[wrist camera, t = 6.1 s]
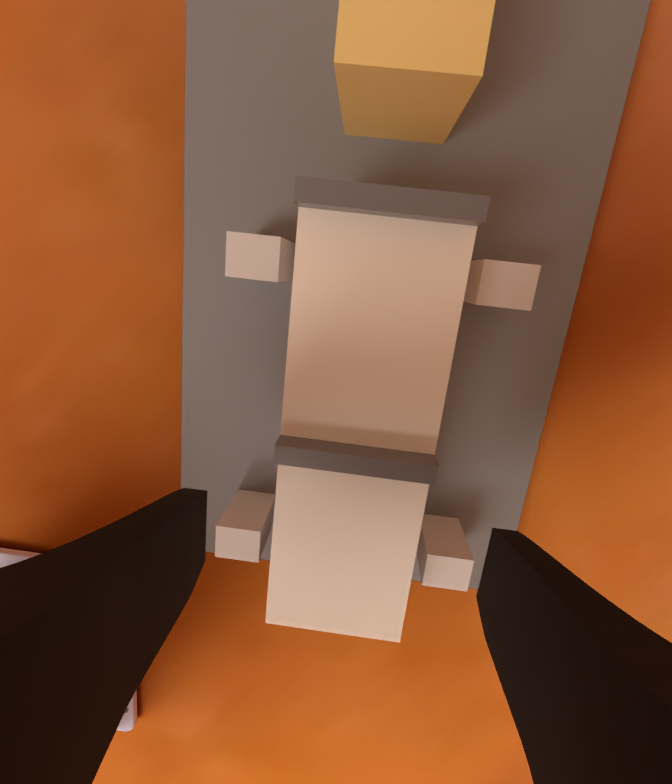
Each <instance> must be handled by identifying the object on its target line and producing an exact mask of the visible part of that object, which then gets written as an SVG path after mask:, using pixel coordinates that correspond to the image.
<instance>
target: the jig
mask: <svg viewBox="0 0 672 784" xmlns="http://www.w3.org/2000/svg"><path fill="white" fill-rule="evenodd" d="M650 2H651V0H496V1H495V7H494V13H493V19H492V24H491V30H490V36H489V42H488V48H487V54H486V59H485V65H484V71H483V76H482V78H481V80H480V82H479V83H478V85H477V87H476V88H475V90H474V92H473V94H472V95H471V97H470V99H469V100H468V102H467V104H466V106H465V107H464V109H463V111H462V112H461V114H460V116H459V118H458V119H457V121H456V123H455V124H454V126H453V128H452V130H451V131H450V133H449V135H448V137H447V138H446V140H445V142H444V143H443V144H433V143H423V142H413V141H403V140H393V139H383V138H373V137H363V136H353V135H345V133H344V127H343V120H342V114H341V107H340V101H339V94H338V88H337V81H336V75H335V68H334V53H335V42H336V31H337V20H338V9H339V0H186V51H185V145H184V238H183V332H182V426H181V489H182V488H190V489H198V490H206V491H207V519H206V551H205V552H211V553H215V557H220V558H227V559H235V560H242V561H249V562H256V563H259V560H260V559H262V560H269V561H270V556H271V544H272V531H273V519H274V507H275V494H276V482H277V469H278V464H273V460H274V447H275V444H276V442H277V440H278V438H279V436H280V432H281V419H282V407H283V394H284V382H285V369H286V357H287V345H288V332H289V320H290V307H291V295H292V282H293V270H294V257H295V245H296V232H297V220H298V206H297V205H296V204H295V203H294V202H293V201H294V188H295V175H297V176H306V177H315V178H325V179H334V180H344V181H353V182H362V183H372V184H381V185H391V186H400V187H409V188H419V189H428V190H438V191H447V192H456V193H466V194H475V195H484V196H491V199H490V204H489V209H488V214H487V220H486V223H484V224H481V225H479V226H477V231H476V237H475V242H474V247H473V253H472V258H471V263H470V269H469V274H468V279H467V285H466V290H465V295H464V301H463V306H462V312H461V317H460V322H459V328H458V333H457V338H456V344H455V349H454V354H453V360H452V365H451V370H450V376H449V381H448V386H447V392H446V397H445V403H444V408H443V413H442V419H441V424H440V429H439V435H438V440H437V445H436V451H435V457H436V459H437V462H438V465H439V470H438V476H437V481H436V485H430V484H429V488H428V494H427V499H426V504H425V510H424V515H423V520H422V526H421V531H420V536H419V542H418V547H417V552H416V558H415V563H414V568H413V574H412V579H411V580H415V581H421V583H422V585H423V586H430V587H437V588H445V589H452V590H459V591H466V592H467V591H468V588H473V589H478V588H479V583H480V579H481V575H482V570H483V566H484V562H485V558H486V553H487V549H488V545H489V540H490V536H491V532H492V528H499V529H507V530H514V531H517V528H518V524H519V520H520V516H521V513H522V509H523V505H524V501H525V497H526V493H527V489H528V485H529V481H530V477H531V473H532V469H533V465H534V461H535V457H536V453H537V449H538V445H539V441H540V437H541V433H542V429H543V425H544V422H545V418H546V414H547V410H548V406H549V402H550V398H551V394H552V390H553V386H554V382H555V378H556V374H557V370H558V366H559V362H560V358H561V354H562V350H563V346H564V342H565V338H566V334H567V331H568V327H569V323H570V319H571V315H572V311H573V307H574V303H575V299H576V295H577V291H578V287H579V283H580V279H581V275H582V271H583V267H584V263H585V259H586V255H587V251H588V247H589V243H590V240H591V236H592V232H593V228H594V224H595V220H596V216H597V212H598V208H599V204H600V200H601V196H602V192H603V188H604V184H605V180H606V176H607V172H608V168H609V164H610V160H611V156H612V152H613V149H614V145H615V141H616V137H617V133H618V129H619V125H620V121H621V117H622V113H623V109H624V105H625V101H626V97H627V93H628V89H629V85H630V81H631V77H632V73H633V69H634V65H635V61H636V58H637V54H638V50H639V46H640V42H641V38H642V34H643V30H644V26H645V22H646V18H647V14H648V10H649V6H650Z"/></svg>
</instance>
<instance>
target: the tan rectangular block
mask: <svg viewBox="0 0 672 784" xmlns="http://www.w3.org/2000/svg"><path fill="white" fill-rule="evenodd" d="M495 1H496V0H339V9H338V20H337V31H336V42H335V53H334V68H335V75H336V81H337V88H338V94H339V101H340V107H341V114H342V120H343V127H344V133H345V135H353V136H363V137H373V138H383V139H393V140H403V141H413V142H423V143H433V144H443V143H444V142H445V140H446V138H447V137H448V135H449V133H450V131H451V130H452V128H453V126H454V124H455V123H456V121H457V119H458V118H459V116H460V114H461V112H462V111H463V109H464V107H465V106H466V104H467V102H468V100H469V99H470V97H471V95H472V94H473V92H474V90H475V88H476V87H477V85H478V83H479V82H480V80H481V78H482V76H483V71H484V65H485V59H486V54H487V48H488V42H489V36H490V30H491V24H492V19H493V13H494V7H495Z"/></svg>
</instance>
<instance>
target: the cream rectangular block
mask: <svg viewBox="0 0 672 784" xmlns="http://www.w3.org/2000/svg"><path fill="white" fill-rule="evenodd" d="M490 199H491V196H484V195H475V194H466V193H456V192H447V191H438V190H428V189H419V188H409V187H400V186H391V185H381V184H372V183H362V182H353V181H344V180H334V179H325V178H315V177H306V176H297V175H295V188H294V201H293V202H294V203H295V204H296V205H297V206H298V220H297V232H296V245H295V257H294V270H293V282H292V295H291V307H290V320H289V332H288V345H287V357H286V369H285V382H284V394H283V407H282V419H281V432H280V436H279V438H278V440H277V442H276V444H275V447H274V460H273V464H278V469H277V482H276V494H275V507H274V519H273V531H272V544H271V556H270V569H269V581H268V594H267V606H266V619H265V623H269V624H275V625H282V626H289V627H296V628H303V629H310V630H317V631H323V632H330V633H337V634H344V635H351V636H358V637H365V638H371V639H378V640H385V641H392V642H399V643H400V638H401V633H402V627H403V622H404V617H405V611H406V606H407V601H408V595H409V590H410V585H411V579H412V574H413V568H414V563H415V558H416V552H417V547H418V542H419V536H420V531H421V526H422V520H423V515H424V510H425V504H426V499H427V494H428V488H429V484H430V485H436V481H437V476H438V470H439V465H438V462H437V459H436V457H435V451H436V445H437V440H438V435H439V429H440V424H441V419H442V413H443V408H444V403H445V397H446V392H447V386H448V381H449V376H450V370H451V365H452V360H453V354H454V349H455V344H456V338H457V333H458V328H459V322H460V317H461V312H462V306H463V301H464V295H465V290H466V285H467V279H468V274H469V269H470V263H471V258H472V253H473V247H474V242H475V237H476V231H477V226H479V225H481V224H484V223H486V220H487V214H488V209H489V204H490Z"/></svg>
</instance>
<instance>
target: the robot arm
mask: <svg viewBox="0 0 672 784" xmlns="http://www.w3.org/2000/svg"><path fill="white" fill-rule="evenodd" d="M206 519H207V491H206V490H198V489H190V488H182V489H179V490H177V491H175V492H173V493H171V494H169V495H167V496H165V497H163V498H161V499H159V500H157V501H155V502H153V503H151V504H149V505H147V506H145V507H143V508H141V509H139V510H137V511H135V512H134V513H132V514H130V515H128V516H126V517H124V518H122V519H120V520H118V521H116V522H114V523H111V524H109V525H107V526H105V527H103V528H100V529H98V530H96V531H94V532H92V533H90V534H87V535H85V536H83V537H81V538H79V539H77V540H74V541H72V542H70V543H67V544H65V545H62V546H60V547H57V548H55V549H52V550H50V551H47V552H45V553H35V552H28V551H21V550H14V549H7V548H0V784H92V782H93V780H94V778H95V776H96V773H97V771H98V769H99V767H100V764H101V762H102V760H103V758H104V755H105V753H106V751H107V749H108V747H109V745H110V743H111V741H112V738H113V736H114V734H115V732H116V730H118V731H130V730H132V729H133V728H134V726H135V724H136V722H137V688H138V686H139V684H140V682H141V680H142V679H143V677H144V675H145V674H146V672H147V670H148V668H149V667H150V665H151V663H152V662H153V660H154V658H155V656H156V655H157V653H158V651H159V649H160V648H161V646H162V644H163V643H164V641H165V639H166V637H167V636H168V634H169V632H170V631H171V629H172V627H173V625H174V624H175V622H176V620H177V618H178V617H179V615H180V613H181V611H182V610H183V608H184V606H185V604H186V603H187V601H188V599H189V597H190V595H191V593H192V591H193V588H194V586H195V584H196V581H197V579H198V577H199V574H200V572H201V569H202V567H203V564H204V562H205V551H206ZM476 597H477V602H478V607H479V612H480V617H481V622H482V626H483V630H484V635H485V639H486V642H487V645H488V648H489V651H490V653H491V656H492V659H493V662H494V665H495V668H496V671H497V674H498V676H499V679H500V682H501V685H502V688H503V691H504V693H505V696H506V699H507V702H508V705H509V707H510V710H511V713H512V716H513V719H514V722H515V724H516V727H517V730H518V733H519V736H520V738H521V741H522V745H523V748H524V751H525V754H526V757H527V761H528V764H529V767H530V771H531V775H532V779H533V783H534V784H672V643H671V642H669V641H667V640H666V639H664V638H663V637H661V636H659V635H658V634H656V633H655V632H653V631H652V630H650V629H649V628H647V627H646V626H644V625H643V624H641V623H640V622H638V621H637V620H635V619H634V618H633V617H631V616H630V615H628V614H627V613H626V612H624V611H623V610H621V609H620V608H619V607H617V606H616V605H614V604H613V603H612V602H610V601H609V600H607V599H606V598H605V597H603V596H602V595H601V594H599V593H598V592H597V591H595V590H594V589H593V588H591V587H590V586H589V585H587V584H586V583H585V582H584V581H582V580H581V579H580V578H578V577H577V576H576V575H575V574H573V573H572V572H571V571H569V570H568V569H567V568H566V567H564V566H563V565H562V564H561V563H559V562H558V561H557V560H556V559H554V558H553V557H552V556H551V555H549V554H548V553H547V552H545V551H544V550H543V549H542V548H540V547H539V546H538V545H537V544H535V543H534V542H533V541H531V540H530V539H529V538H527V537H526V536H524V535H523V534H521V533H520V532H518V531H514V530H507V529H499V528H492V532H491V536H490V540H489V545H488V549H487V553H486V558H485V562H484V566H483V570H482V575H481V579H480V583H479V588H478V592H477V596H476Z"/></svg>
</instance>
